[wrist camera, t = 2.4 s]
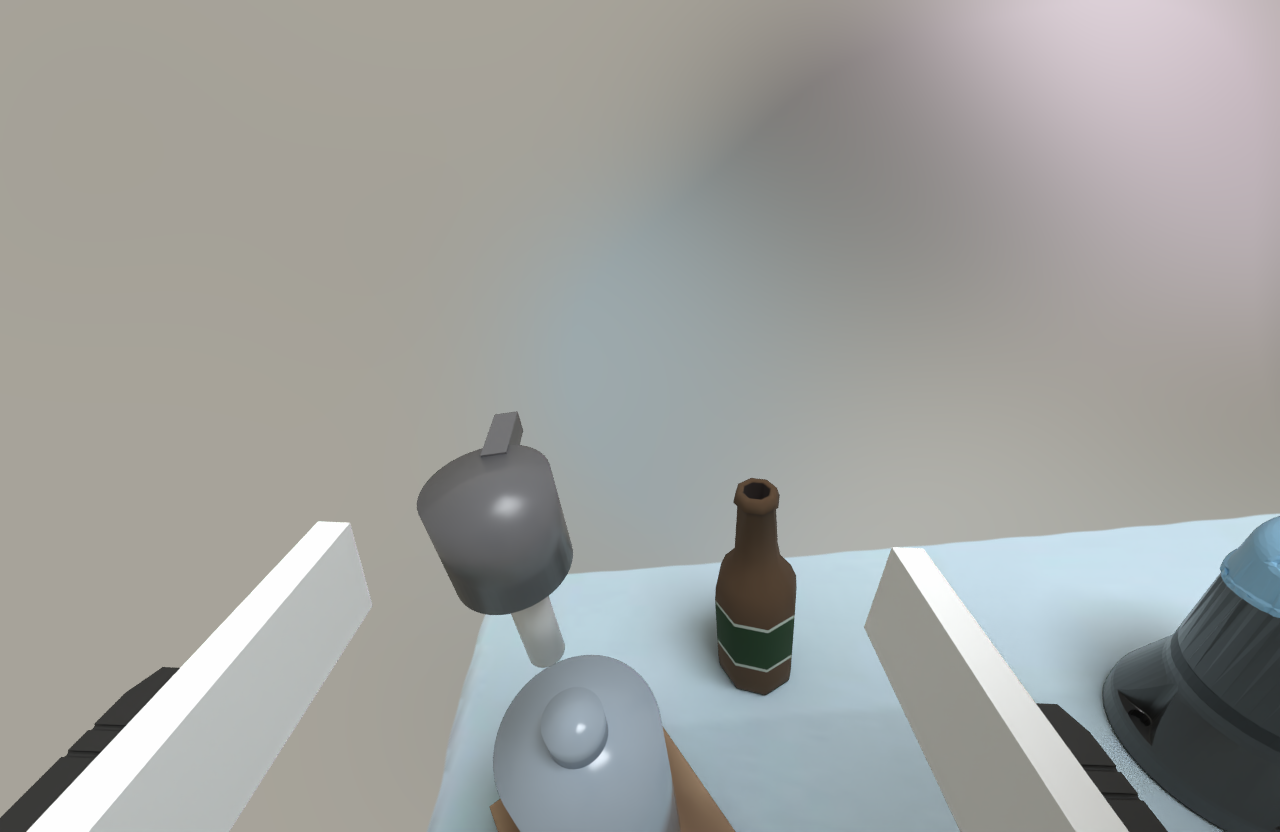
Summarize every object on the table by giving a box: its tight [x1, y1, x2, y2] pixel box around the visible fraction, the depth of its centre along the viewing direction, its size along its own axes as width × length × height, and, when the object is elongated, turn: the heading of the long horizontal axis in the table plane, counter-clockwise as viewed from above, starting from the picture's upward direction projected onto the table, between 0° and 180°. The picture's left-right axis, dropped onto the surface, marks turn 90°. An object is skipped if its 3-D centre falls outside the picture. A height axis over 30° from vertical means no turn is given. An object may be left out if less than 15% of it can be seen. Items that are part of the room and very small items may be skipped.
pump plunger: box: [417, 412, 573, 668], centre depth 25 cm, size 6×8×12 cm
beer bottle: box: [715, 478, 796, 695], centre depth 46 cm, size 8×8×24 cm
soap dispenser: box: [493, 655, 681, 832], centre depth 36 cm, size 11×11×18 cm
